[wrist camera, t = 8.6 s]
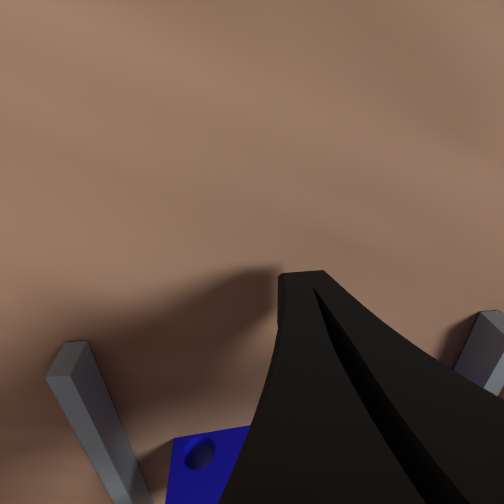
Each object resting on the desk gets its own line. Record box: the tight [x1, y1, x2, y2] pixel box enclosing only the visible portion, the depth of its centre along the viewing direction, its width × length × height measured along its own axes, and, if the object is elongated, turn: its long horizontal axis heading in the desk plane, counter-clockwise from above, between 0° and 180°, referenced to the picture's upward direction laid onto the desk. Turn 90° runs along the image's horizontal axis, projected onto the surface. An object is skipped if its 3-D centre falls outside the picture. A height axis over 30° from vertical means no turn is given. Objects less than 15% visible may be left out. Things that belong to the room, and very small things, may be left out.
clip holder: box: [45, 310, 504, 504], centre depth 15 cm, size 17×16×2 cm
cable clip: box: [165, 425, 250, 504], centre depth 13 cm, size 12×4×6 cm, turn 99°
